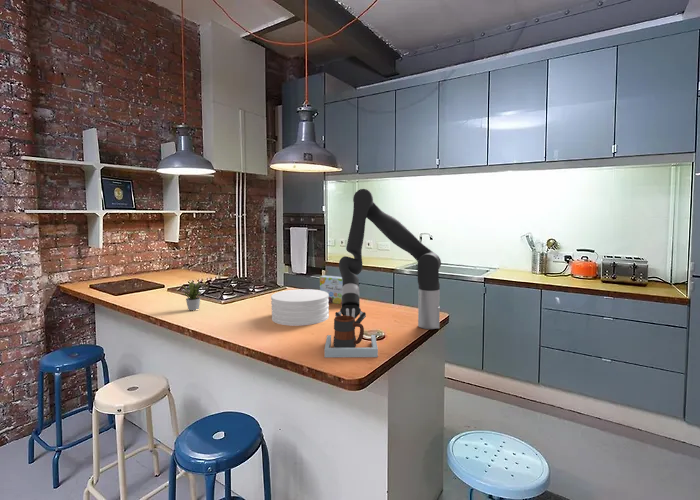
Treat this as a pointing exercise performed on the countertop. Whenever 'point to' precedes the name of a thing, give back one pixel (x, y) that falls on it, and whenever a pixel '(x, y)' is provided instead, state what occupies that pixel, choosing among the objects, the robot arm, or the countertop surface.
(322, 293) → the plate stack
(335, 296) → the snack box
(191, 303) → the house plant
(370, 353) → the dock bay
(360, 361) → the countertop surface
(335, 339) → the mug
